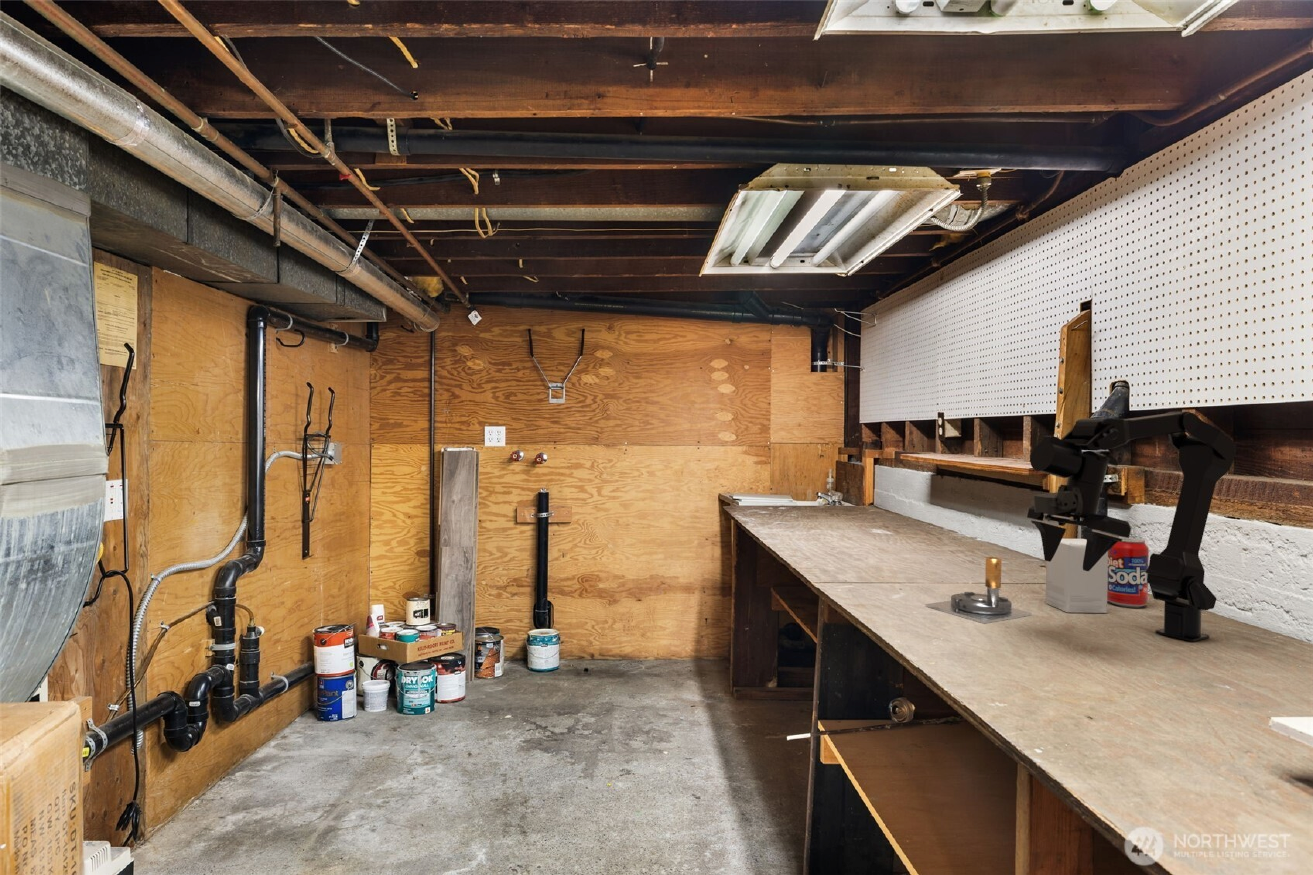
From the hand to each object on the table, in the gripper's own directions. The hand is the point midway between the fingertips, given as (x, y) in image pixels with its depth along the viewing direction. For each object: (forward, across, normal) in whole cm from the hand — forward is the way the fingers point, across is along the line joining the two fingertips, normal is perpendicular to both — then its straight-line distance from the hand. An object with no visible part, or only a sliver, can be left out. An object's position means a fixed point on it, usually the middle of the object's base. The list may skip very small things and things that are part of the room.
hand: (1065, 565), depth 129 cm
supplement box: (+9, -22, +25) cm, 34 cm away
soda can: (+6, -23, +39) cm, 45 cm away
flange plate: (+14, -23, +2) cm, 27 cm away
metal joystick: (+14, -23, +3) cm, 27 cm away
